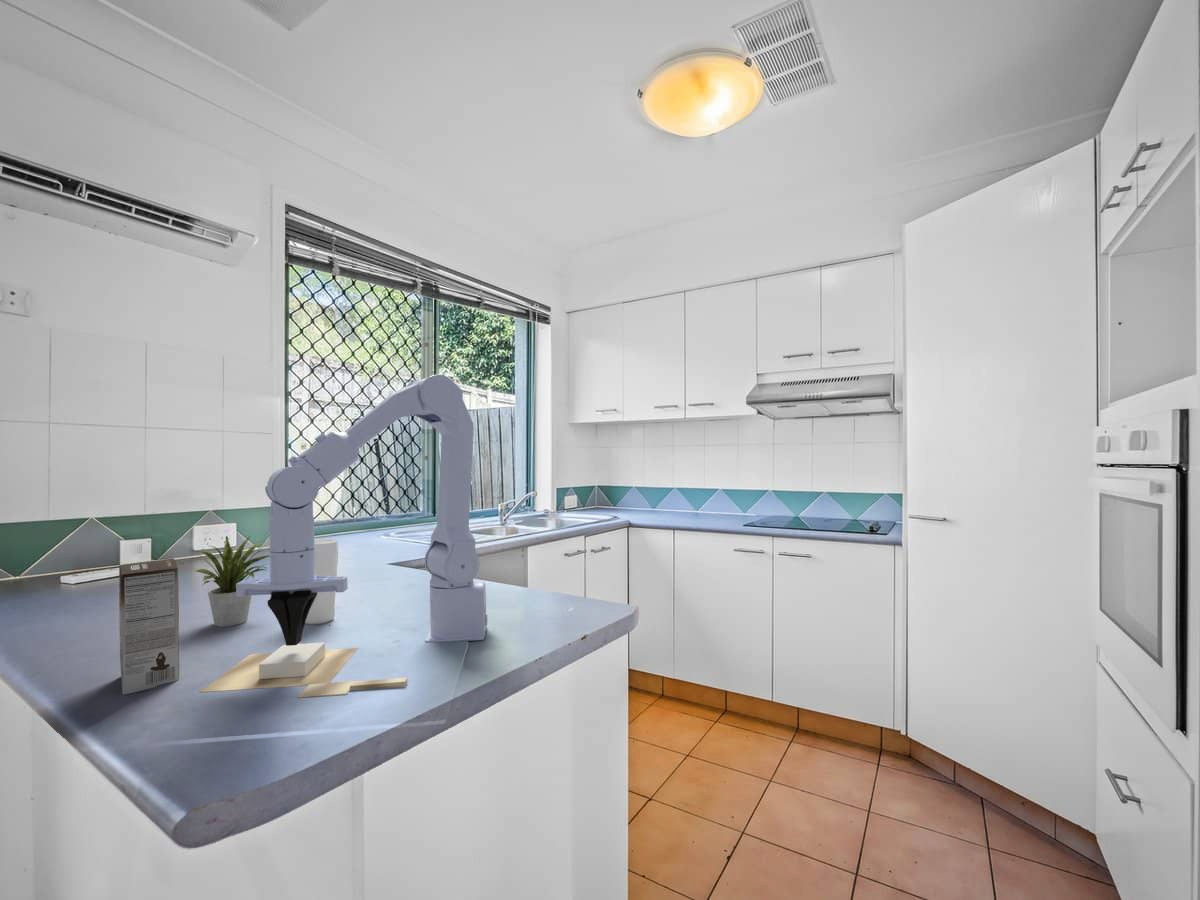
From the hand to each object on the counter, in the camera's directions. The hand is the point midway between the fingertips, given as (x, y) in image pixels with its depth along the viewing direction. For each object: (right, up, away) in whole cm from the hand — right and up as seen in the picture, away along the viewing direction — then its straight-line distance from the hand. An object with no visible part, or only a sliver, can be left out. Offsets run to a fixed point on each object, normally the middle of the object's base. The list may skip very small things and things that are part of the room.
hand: (293, 643), depth 82 cm
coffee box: (-19, -4, -3) cm, 19 cm away
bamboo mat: (-1, -4, 0) cm, 4 cm away
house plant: (-24, -5, +23) cm, 34 cm away
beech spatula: (+12, -4, -7) cm, 15 cm away
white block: (+3, -2, 0) cm, 4 cm away
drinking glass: (-8, -4, +24) cm, 26 cm away
